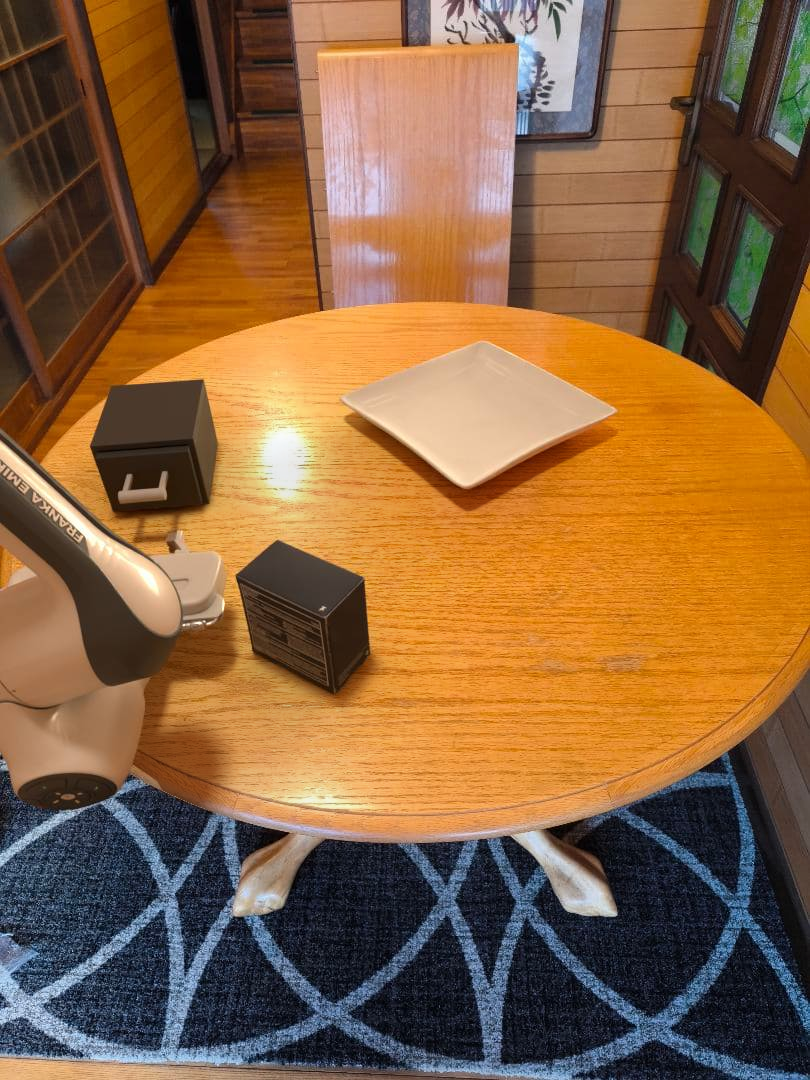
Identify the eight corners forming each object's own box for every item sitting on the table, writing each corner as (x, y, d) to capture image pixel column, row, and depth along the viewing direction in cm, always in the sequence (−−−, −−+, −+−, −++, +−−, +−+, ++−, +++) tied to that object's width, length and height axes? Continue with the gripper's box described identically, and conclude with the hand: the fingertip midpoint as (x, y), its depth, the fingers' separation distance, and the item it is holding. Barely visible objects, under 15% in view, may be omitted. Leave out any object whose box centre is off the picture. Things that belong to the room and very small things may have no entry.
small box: (374, 651, 75) (369, 574, 68) (335, 697, 71) (325, 621, 64) (291, 610, 80) (277, 534, 73) (249, 651, 76) (231, 575, 69)
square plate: (617, 432, 103) (621, 407, 101) (463, 512, 91) (464, 487, 88) (483, 357, 120) (484, 334, 117) (337, 417, 107) (335, 393, 105)
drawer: (198, 529, 88) (183, 475, 83) (106, 537, 88) (86, 483, 83) (210, 446, 101) (198, 394, 96) (130, 452, 101) (114, 400, 95)
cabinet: (209, 503, 93) (193, 438, 87) (112, 511, 93) (89, 446, 86) (217, 441, 104) (203, 378, 97) (130, 448, 103) (111, 385, 96)
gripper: (215, 604, 68) (226, 507, 78) (-21, 625, 67) (21, 524, 77) (228, 650, 72) (236, 552, 82) (5, 671, 71) (42, 569, 81)
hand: (131, 539), depth 80 cm, fingers open, 8 cm apart
